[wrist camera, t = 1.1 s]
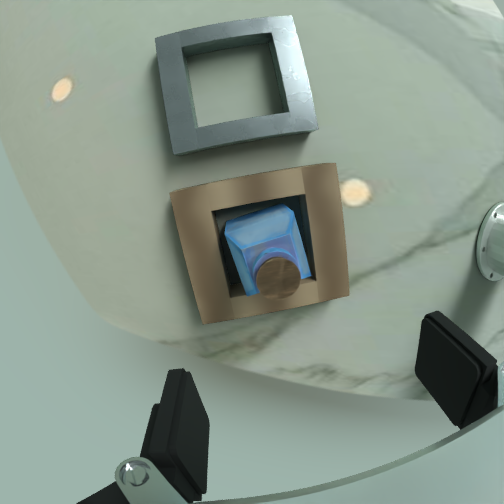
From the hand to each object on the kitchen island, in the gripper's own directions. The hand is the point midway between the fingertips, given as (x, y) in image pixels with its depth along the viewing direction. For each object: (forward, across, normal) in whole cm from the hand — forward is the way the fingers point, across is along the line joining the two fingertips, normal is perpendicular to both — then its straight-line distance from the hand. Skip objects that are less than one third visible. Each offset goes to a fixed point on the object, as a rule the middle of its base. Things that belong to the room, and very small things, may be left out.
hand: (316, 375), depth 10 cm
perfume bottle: (+23, 0, 0) cm, 23 cm away
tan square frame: (+23, 0, 0) cm, 23 cm away
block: (+23, 0, -17) cm, 28 cm away
